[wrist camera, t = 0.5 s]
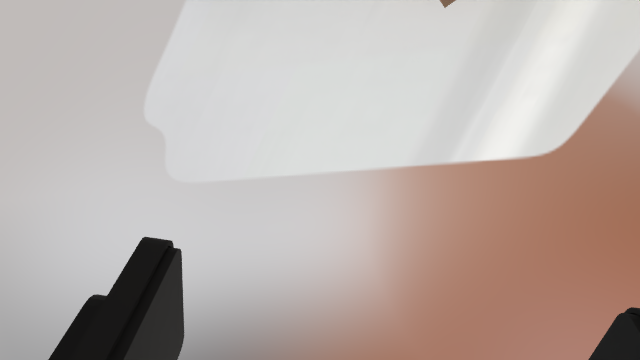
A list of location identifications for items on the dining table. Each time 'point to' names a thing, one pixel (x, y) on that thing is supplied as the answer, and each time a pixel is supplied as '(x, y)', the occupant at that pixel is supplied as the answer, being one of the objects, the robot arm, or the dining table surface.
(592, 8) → the dining table surface
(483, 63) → the dining table surface
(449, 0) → the walled box
